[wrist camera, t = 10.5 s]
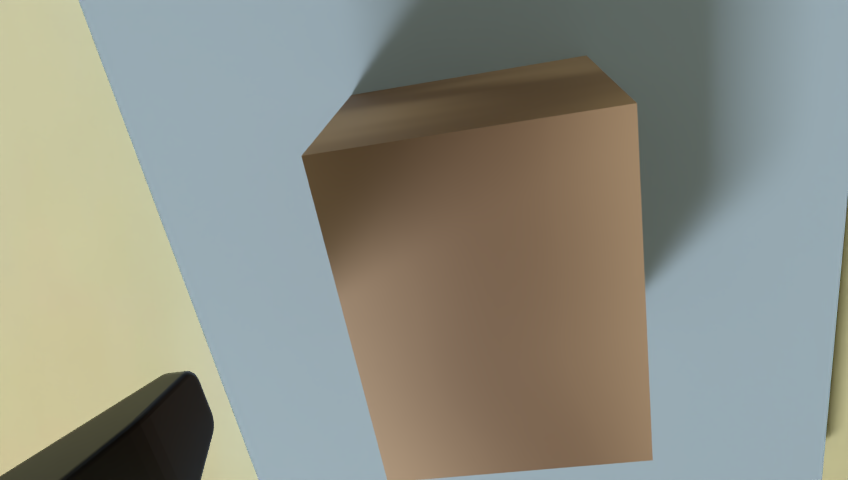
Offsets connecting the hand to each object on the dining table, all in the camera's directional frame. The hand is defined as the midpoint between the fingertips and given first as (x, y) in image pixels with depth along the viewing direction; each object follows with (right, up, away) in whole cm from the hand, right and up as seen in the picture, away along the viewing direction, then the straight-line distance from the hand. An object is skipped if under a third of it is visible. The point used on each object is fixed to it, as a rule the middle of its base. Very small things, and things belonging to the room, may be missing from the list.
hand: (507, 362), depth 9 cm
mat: (0, +2, +5) cm, 6 cm away
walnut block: (0, +2, +5) cm, 5 cm away
